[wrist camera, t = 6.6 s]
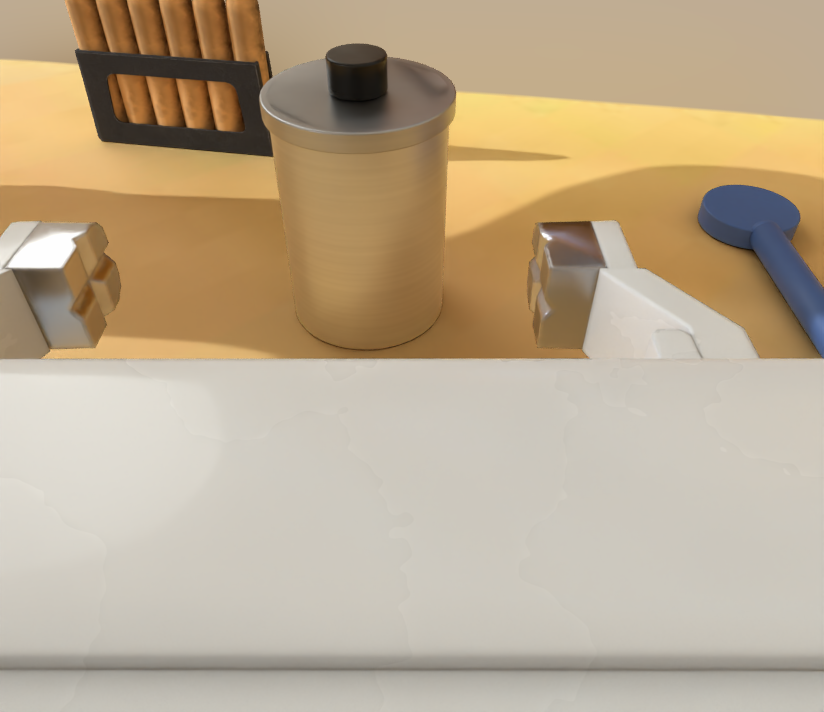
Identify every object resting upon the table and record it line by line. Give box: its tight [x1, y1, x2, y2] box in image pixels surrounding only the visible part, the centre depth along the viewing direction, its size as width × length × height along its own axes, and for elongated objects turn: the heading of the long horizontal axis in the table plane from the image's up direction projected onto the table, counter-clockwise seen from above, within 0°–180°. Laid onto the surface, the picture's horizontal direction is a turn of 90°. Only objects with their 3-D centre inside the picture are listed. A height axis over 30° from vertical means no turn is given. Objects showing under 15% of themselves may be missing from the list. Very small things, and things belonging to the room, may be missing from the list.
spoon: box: [698, 185, 824, 358], centre depth 29 cm, size 16×4×1 cm, turn 0°
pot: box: [259, 44, 456, 350], centre depth 26 cm, size 7×7×10 cm
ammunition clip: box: [65, 0, 273, 156], centre depth 37 cm, size 11×2×12 cm, turn 79°
